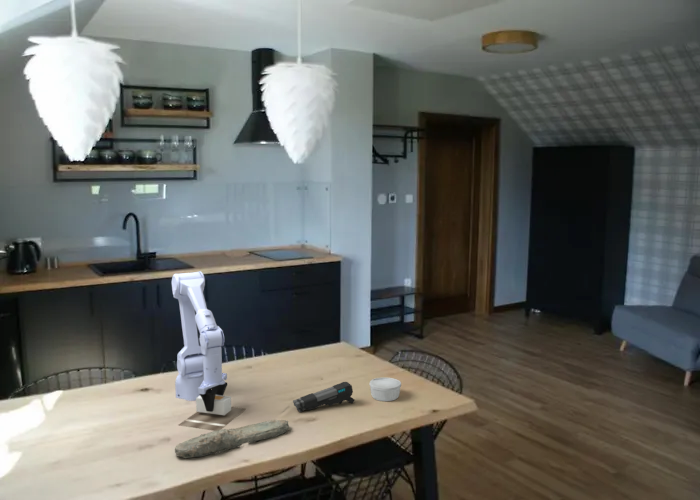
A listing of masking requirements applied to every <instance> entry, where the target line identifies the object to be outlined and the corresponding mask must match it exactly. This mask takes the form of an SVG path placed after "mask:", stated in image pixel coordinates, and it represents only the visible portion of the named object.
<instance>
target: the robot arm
mask: <svg viewBox="0 0 700 500" xmlns="http://www.w3.org/2000/svg"><path fill="white" fill-rule="evenodd" d="M205 286H206V278H205V275H204V273H203V272H202V271H201V270H199V271H195V272H186V273H185V272H184V273H183V272H182V273H174V274H173V275H172V278H171V290H172V295H173V298H174V299H176V300H177V301H178V304H179V312H180V320H181V321H180V322H181V329H182V337H183V345H184V346H183V347H182V348H181V350H180V351H178V353H177V356H176V357H177V361H176V368H177V371H178V372H177V373H178V374H177V376H176V379H175V381H174V383H175V384H174V385H175V398H176V399H180V400H185V401H189V402H190V401H191V402H192V401H195V402H196V398H197V397H198V396H201V397H202V399H203V402H204V405H205V408H206V411H209V412H212V411H213V409H214V400H215V396H216V395H223V396H225V391H226V389H227V387H228V384H229V383H228V382H227V381H226V380H228V374H227V373H225V372H223V361H222V360H223V359H222V356H223V355H222V354H223V353H222V347H223V346H224V345H225V335H224V330H223V329H222V328H221V327H220V326H219V325H217V323H216V319H215V317H214V314H213V311H212V310H210V309H208V308H207V307H208V306H207V302H206V299H205V294H204V289H205ZM198 332H199V334H198Z"/></svg>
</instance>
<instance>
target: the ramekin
mask: <svg viewBox="0 0 700 500" xmlns="http://www.w3.org/2000/svg"><path fill="white" fill-rule="evenodd" d="M368 385H369V387H370V389H369V390H370V394H371V397H372V398H373V399H374V400H376V401H379V402H392V401H396V400H397V399H398V398H399V397H400V393H401V386H402V381H400V380H399V379H396V378H393V377H375V378H372V379H371V380H370V381H369V384H368Z"/></svg>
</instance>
